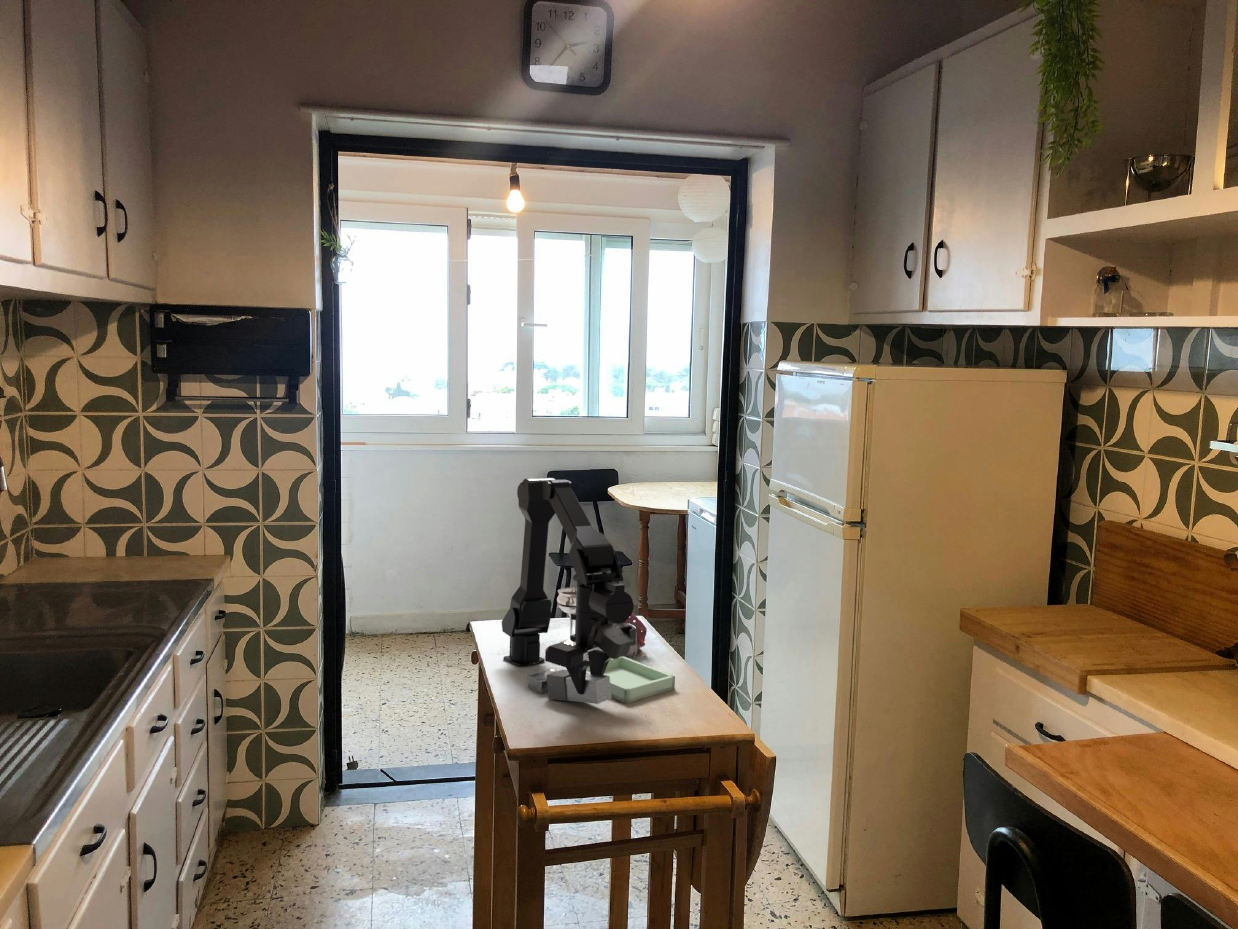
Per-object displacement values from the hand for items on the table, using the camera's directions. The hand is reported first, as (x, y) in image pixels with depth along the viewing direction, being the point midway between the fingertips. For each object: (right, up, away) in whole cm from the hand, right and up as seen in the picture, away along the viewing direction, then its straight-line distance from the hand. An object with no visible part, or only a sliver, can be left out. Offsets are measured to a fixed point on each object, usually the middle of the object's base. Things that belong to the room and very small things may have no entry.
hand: (588, 691), depth 177 cm
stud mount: (-8, -2, +9) cm, 13 cm away
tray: (+7, -2, +13) cm, 15 cm away
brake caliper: (+6, 0, +33) cm, 34 cm away
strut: (-2, -2, +1) cm, 3 cm away
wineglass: (-5, +1, +38) cm, 39 cm away
